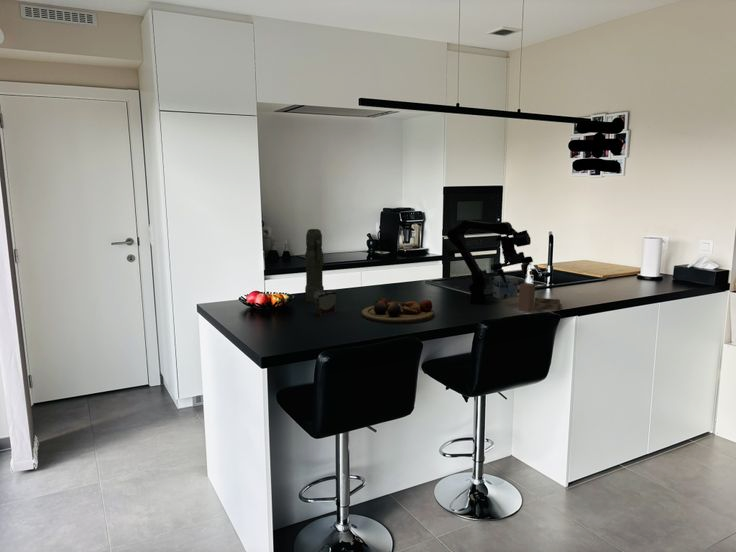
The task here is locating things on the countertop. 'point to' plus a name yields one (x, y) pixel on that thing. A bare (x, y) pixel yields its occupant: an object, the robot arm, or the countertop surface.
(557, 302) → the sleeve
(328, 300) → the food container
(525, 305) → the block
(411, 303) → the wooden plate with food
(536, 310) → the trivet
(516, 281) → the light bulb box
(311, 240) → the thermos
